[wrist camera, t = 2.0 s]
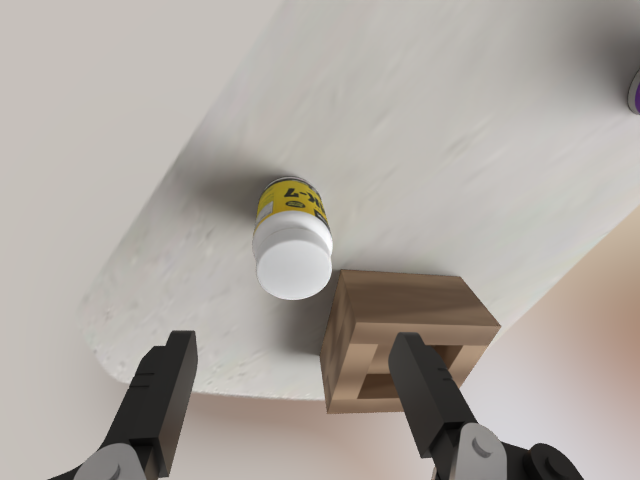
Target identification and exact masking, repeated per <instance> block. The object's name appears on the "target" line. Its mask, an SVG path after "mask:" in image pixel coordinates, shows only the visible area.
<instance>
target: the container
mask: <svg viewBox="0 0 640 480" xmlns="http://www.w3.org/2000/svg"><path fill="white" fill-rule="evenodd" d="M628 105H629V107H630V109H631V111H632V112H634V113H635V114H638V115H640V70H639V71H638V73H637V74H636V76H635V78H634V80H633V81H632V84H631V87H630V89H629V94H628Z"/></svg>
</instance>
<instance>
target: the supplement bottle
mask: <svg viewBox="0 0 640 480" xmlns="http://www.w3.org/2000/svg"><path fill="white" fill-rule="evenodd" d="M332 248H333V242H332V236H331V232H330V229H329V225H328V222H327V218H326V214H325V211H324V208H323V204H322V201H321V198H320V195H319V193H318V191H317V190H316V189H315V188H314V186H312V185H311V184H310V183H308V182H307V181H305V180H303V179H300V178H296V177H284V178H280V179H277V180H275V181H273V182H272V183H270V184H269V185H268V186H267V187H266V188H265V189H264V190H263V192H262V194H261V196H260V199H259V205H258V210H257V216H256V222H255V228H254V234H253V240H252V249H253V254H254V257H255V260H256V275H257V279H258V281H259V283H260V285H261V286H262V287H263V289H264V290H266V291H267V292H268V293H269V294H271V295H273V296H275V297H278V298H281V299H286V300H299V299H304V298H308V297H310V296H313V295H314V294H316V293H318V292H319V291H320V290H322V289H323V288H324V287H325V286H326V284H327V283H328V281H329V279H330V276H331V272H332V264H331V254H332Z"/></svg>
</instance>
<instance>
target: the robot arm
mask: <svg viewBox="0 0 640 480" xmlns="http://www.w3.org/2000/svg"><path fill="white" fill-rule="evenodd" d="M197 364H198V355H197V345H196V335H195V331H172V332H171V334H170V336H169V338H168V341H167V343H166V346H154V347H153V348H152V349H151V350H150V351H149V352H148V353H147V354H146V355H145V356H144V357H143V358H142V360H141V362H140V364H139V366H138V368H137V371H136V373H135V377H133V379H132V381H131V384H130V386H129V389H128V390H127V392H126V394H125V397H124V399H123V401H122V403H121V405H120V408H119V410H118V412H117V414H116V416H115V418H114V421H113V423H112V425H111V427H110V430H109V431H108V434H107V436H106V438H105V440H104V442H103V443H102V445H101V446H100V447H99V449H98V450H97V451H96V452H95V453H94V454H93V455H91V456H90V457H89V458H88V459H87V460H86V461H85V462H84V463H82V464H81V465H80V466H78V467H76V468H75V469H73V470H71V471H69V472H67V473H64V474H61V475H59V476H56V477H53V478H51V479H48V480H158V478H162V477H169V474H170V470H171V466H172V462H173V459H174V455H175V451H176V447H177V444H178V440H179V436H180V432H181V428H182V425H183V421H184V417H185V413H186V410H187V405H188V402H189V398H190V394H191V391H192V387H193V383H194V379H195V375H196V371H197ZM388 366H389V371H390V374H391V377H392V379H393V382H394V385H395V388H396V390H397V393H398V396H399V399H400V401H401V404H402V407H403V410H404V412H405V415H406V418H407V421H408V423H409V426H410V429H411V432H412V434H413V437H414V440H415V442H416V446H417V448H418V451H419V454H420V457H421V458H431V457H432V458H433V461H434V464H435V467H434V469H433V474H432V479H431V480H584V479H583V478H582V476H581V475H580V473H579V472H578V471H577V469H576V468H575V466H574V465H573V464H572V462H570V460H569V459H568V458H567V457H566V456H565V455H564V454H562V453H561V452H560V451H558V450H557V449H556V448H554V447H552V446H550V445H547V444H542V443H538V444H535V445H534V446H533V447H532V448H531V449H530V450H527V449H523V448H520V447H517V446H514V445H510V444H507V443H504V442H501V441H500V440H499V439H498V438H497V437H496V435H495V434H494V433H493V432H492V431H490V430H489V429H488V428H486V427H484V426H482V425H480V424H479V423H478V422H477V420H476V419H475V418H474V415H473V413H472V412H471V410H470V408H469V406H468V404H467V403H466V401H465V399H464V397H463V395H462V394H461V392H460V390H459V388H458V386H457V385H456V383H455V381H453V377H452V376H451V374H450V372H449V371H448V370H447V367H446V365H445V363H444V361H443V359H442V358H441V356H440V355H439V354H438V353H437V352H436V351H435V350H434V349H433V348H432V347H431V346H430V345H429V346H425V344H424V342H423V340H422V338H421V336H420V335H419V333H417V332H399V333H398V334H397V336H396V338H395V341H394V344H393V346H392V349H391V351H390V354H389V357H388Z"/></svg>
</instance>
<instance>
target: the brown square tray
mask: <svg viewBox="0 0 640 480" xmlns="http://www.w3.org/2000/svg"><path fill="white" fill-rule="evenodd" d="M500 328H501V325H500V324H499V323H498V322H497V320H496V319H495V318H494V317H493V316H492V314H491V313H490V312H489V311H488V310H487V308H486V307H485V306H484V305H483V303H482V302H481V301H480V300H479V299H478V297H477V296H476V295H475V294H474V293H473V291H472V290H471V289H470V288H469V287H468V285H467V284H466V283H465V282H464V280H463V279H462V278H461V277H455V276H439V275H423V274H407V273H391V272H375V271H359V270H343V269H341V272H340V276H339V280H338V284H337V288H336V292H335V296H334V300H333V304H332V308H331V312H330V316H329V320H328V324H327V328H326V332H325V336H324V340H323V344H322V348H321V352H320V363H321V371H322V378H323V386H324V393H325V401H326V408H327V414H339V413H340V414H341V413H374V412H404V410H403V407H402V404H401V401H400V399H399V396H398V393H397V390H396V388H395V385H394V382H393V379H392V377H391V374H390V371H389V366H388V357H389V354H390V351H391V349H392V346H393V344H394V341H395V338H396V336H397V334H398V333H399V332H417V333H419V335H420V336H421V338H422V340H423V342H424V344H425V346H429V345H430V346H431V347H432V348H433V349H434V350H435V351H436V352H437V353H438V354H439V355H440V356H441V358H442V359H443V361H444V363H445V365H446V367H447V370H448V371H449V372H450V374H451V376H452V377H453V381H455V383H456V385H457V386H458V388H460V386H461V385H462V384H463V382H464V381H465V379H466V378H467V376H468V375H469V373H470V372H471V370H472V369H473V367H474V366H475V365H476V363H477V362H478V360H479V359H480V357H481V356H482V354H483V353H484V351H485V350H486V348H487V347H488V346H489V344H490V343H491V341H492V340H493V338H494V337H495V335H496V334H497V332H498V331H499V329H500Z"/></svg>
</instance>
